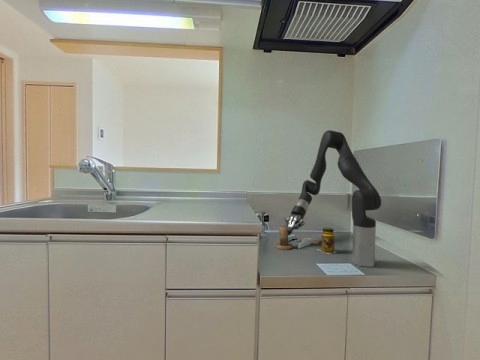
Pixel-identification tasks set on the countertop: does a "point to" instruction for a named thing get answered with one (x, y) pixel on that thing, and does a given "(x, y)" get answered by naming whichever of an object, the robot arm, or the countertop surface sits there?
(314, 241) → the coaster
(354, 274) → the countertop surface
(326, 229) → the condiment
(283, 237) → the wooden peg stand
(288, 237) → the pale blue rack
